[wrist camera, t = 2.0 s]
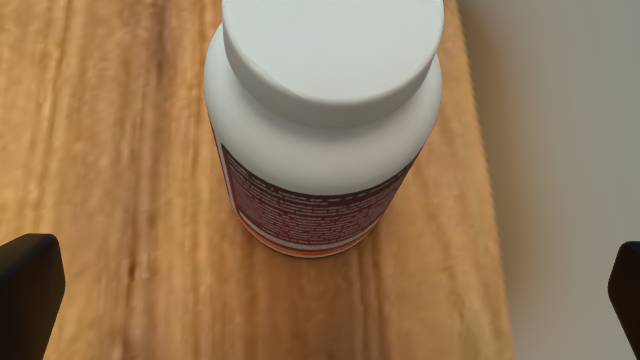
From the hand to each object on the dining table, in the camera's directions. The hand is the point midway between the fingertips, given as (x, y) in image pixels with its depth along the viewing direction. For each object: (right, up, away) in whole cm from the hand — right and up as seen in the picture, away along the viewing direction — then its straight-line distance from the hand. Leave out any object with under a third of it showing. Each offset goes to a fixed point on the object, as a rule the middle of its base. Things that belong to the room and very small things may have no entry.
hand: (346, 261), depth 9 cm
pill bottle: (-1, +1, +13) cm, 13 cm away
